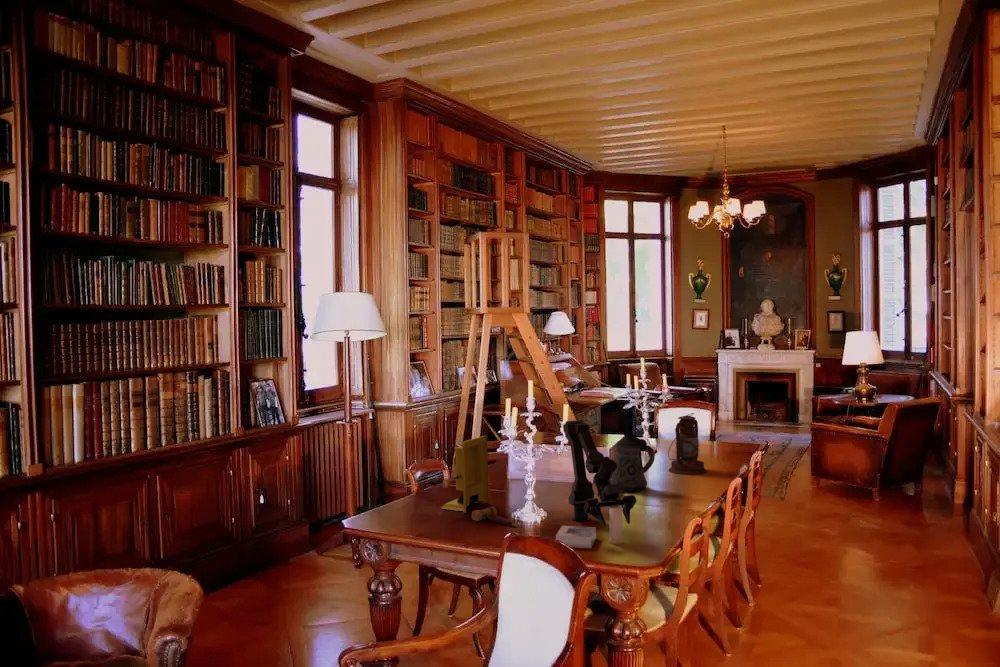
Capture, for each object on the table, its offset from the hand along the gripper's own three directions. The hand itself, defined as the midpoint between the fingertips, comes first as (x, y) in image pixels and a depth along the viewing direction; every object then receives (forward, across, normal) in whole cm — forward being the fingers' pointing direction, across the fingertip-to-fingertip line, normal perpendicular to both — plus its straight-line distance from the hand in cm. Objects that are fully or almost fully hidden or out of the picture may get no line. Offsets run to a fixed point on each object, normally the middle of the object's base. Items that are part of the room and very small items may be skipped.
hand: (617, 524), depth 277 cm
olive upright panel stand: (-46, -39, +55) cm, 82 cm away
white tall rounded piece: (+4, 0, +6) cm, 7 cm away
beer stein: (-49, +41, +58) cm, 86 cm away
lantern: (-67, +83, +77) cm, 132 cm away
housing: (0, -13, +9) cm, 16 cm away
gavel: (-24, -33, +35) cm, 54 cm away
